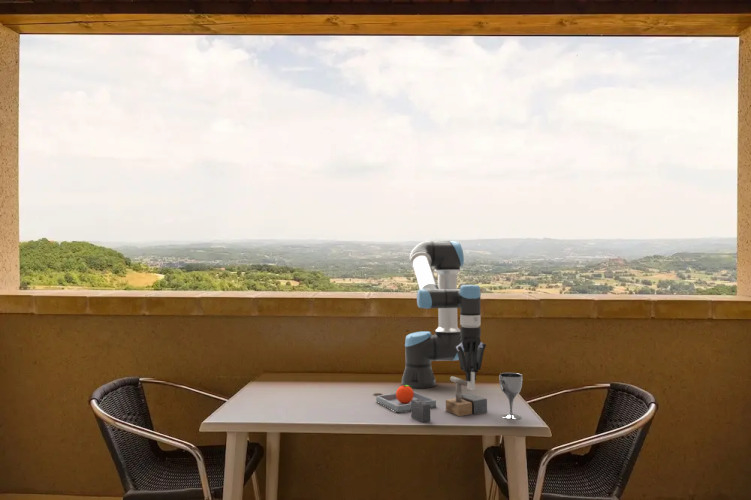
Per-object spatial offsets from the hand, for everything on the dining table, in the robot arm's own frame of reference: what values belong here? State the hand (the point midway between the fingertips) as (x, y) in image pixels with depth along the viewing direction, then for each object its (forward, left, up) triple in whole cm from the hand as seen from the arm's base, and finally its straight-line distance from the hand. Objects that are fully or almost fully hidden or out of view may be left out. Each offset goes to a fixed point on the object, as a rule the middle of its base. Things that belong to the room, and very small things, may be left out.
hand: (471, 389), depth 203 cm
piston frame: (0, -10, -8) cm, 13 cm away
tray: (-19, -17, -8) cm, 27 cm away
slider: (0, -6, -8) cm, 10 cm away
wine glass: (+13, +8, -8) cm, 17 cm away
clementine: (-19, -17, -8) cm, 27 cm away
